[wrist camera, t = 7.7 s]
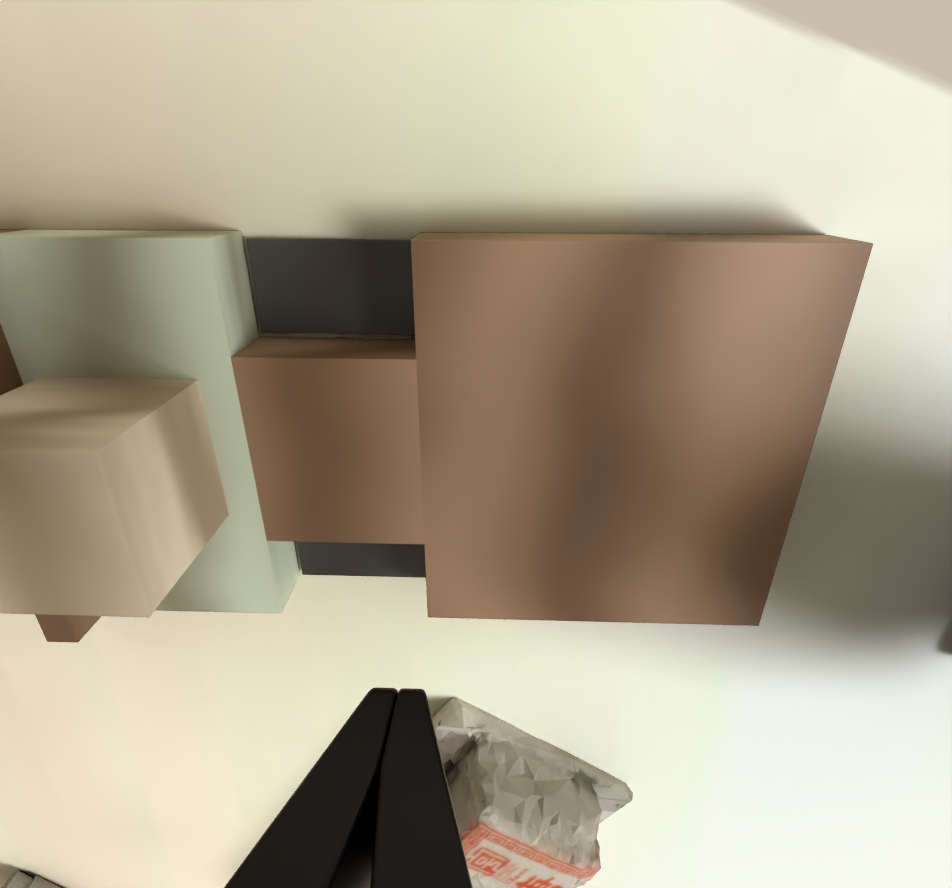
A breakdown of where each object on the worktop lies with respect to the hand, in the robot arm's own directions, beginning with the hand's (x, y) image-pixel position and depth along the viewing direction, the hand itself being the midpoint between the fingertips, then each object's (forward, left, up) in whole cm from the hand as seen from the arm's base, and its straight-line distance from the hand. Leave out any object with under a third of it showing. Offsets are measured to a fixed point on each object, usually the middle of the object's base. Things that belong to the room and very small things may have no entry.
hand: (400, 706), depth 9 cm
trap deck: (+1, 0, -10) cm, 10 cm away
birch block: (+9, 0, -8) cm, 12 cm away
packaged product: (+1, +22, -11) cm, 25 cm away
